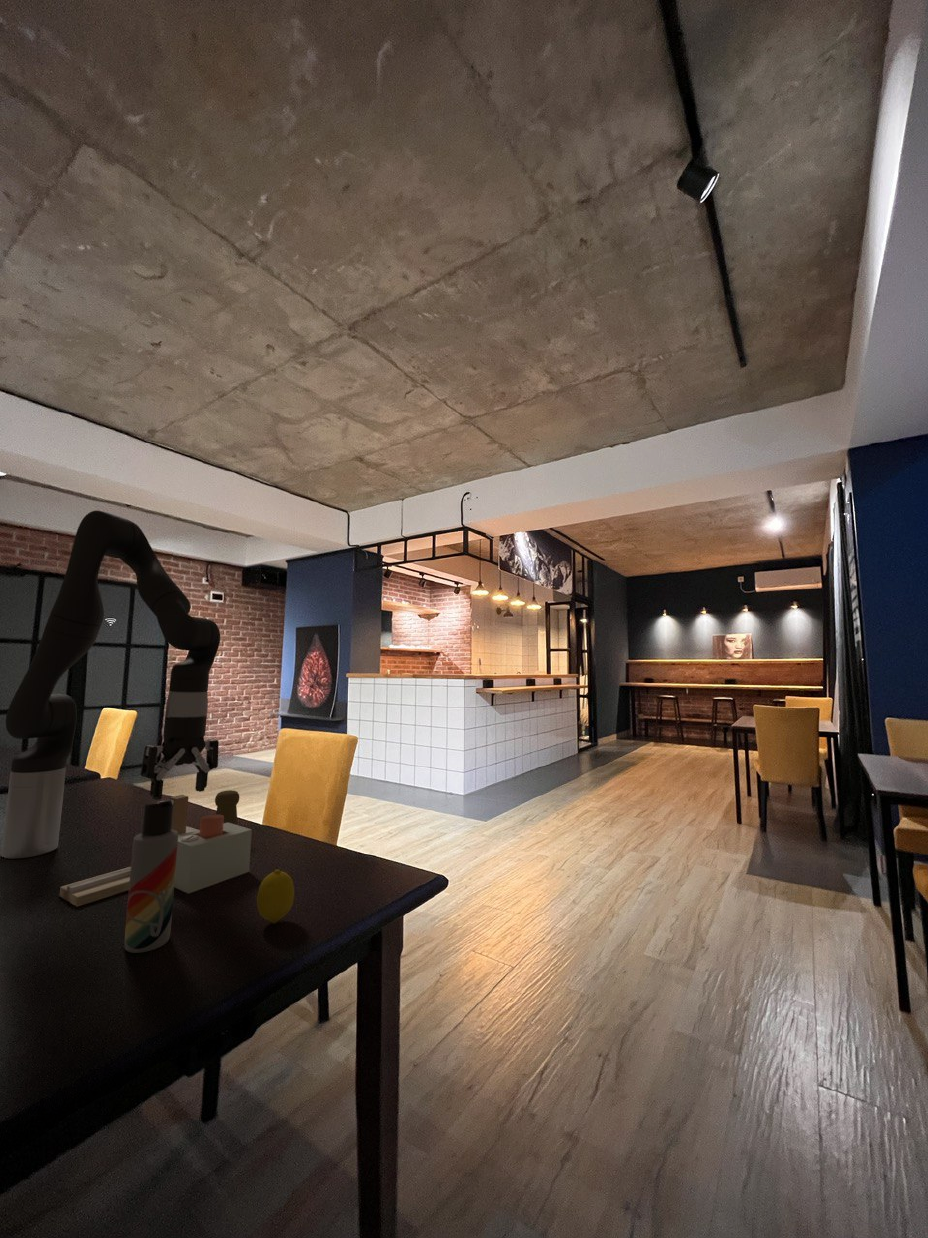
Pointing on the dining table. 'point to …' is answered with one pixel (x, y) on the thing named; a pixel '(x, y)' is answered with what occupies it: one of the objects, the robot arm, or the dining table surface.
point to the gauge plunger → (211, 826)
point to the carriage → (180, 814)
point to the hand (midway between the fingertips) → (178, 795)
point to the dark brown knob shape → (227, 805)
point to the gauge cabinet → (211, 857)
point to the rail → (96, 887)
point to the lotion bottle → (152, 880)
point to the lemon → (275, 896)
